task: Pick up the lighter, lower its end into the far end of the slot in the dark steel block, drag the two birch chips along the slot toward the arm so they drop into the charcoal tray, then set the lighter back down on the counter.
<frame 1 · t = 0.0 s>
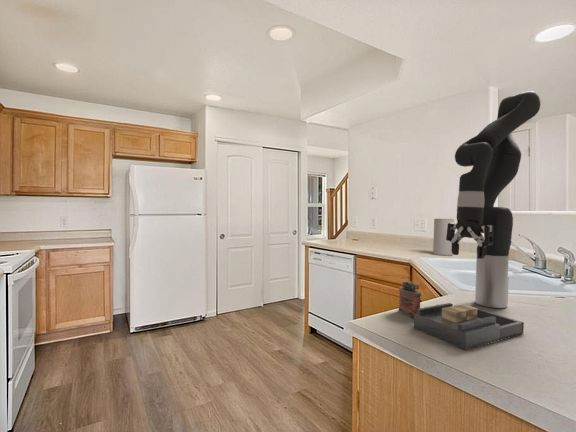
hand: (467, 256, 104), 17 cm above the table, tool pointing down, fingers open, 8 cm apart
slot block: (454, 333, 84), on the table
lighter: (409, 315, 99), on the table
cylinder vase: (442, 254, 226), on the table
chip a: (464, 316, 85), point 4 cm above the table, touching slot block
tray: (482, 326, 89), on the table
chip b: (453, 318, 83), point 4 cm above the table, touching slot block
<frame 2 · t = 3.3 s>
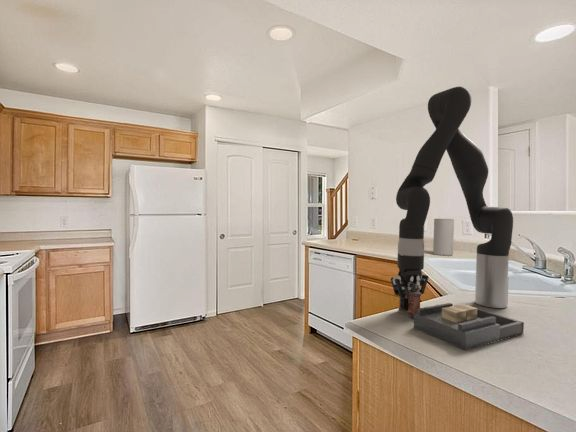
hand: (409, 308, 98), 2 cm above the table, tool pointing down, fingers closed on lighter, 3 cm apart
lighter: (409, 315, 99), on the table, touching gripper
everything else where it was.
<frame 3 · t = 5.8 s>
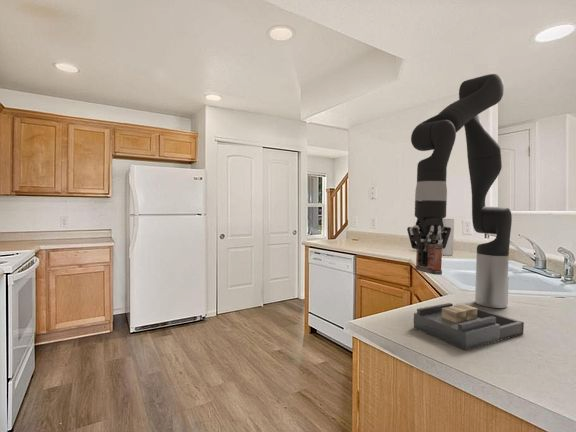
hand: (428, 265, 84), 18 cm above the table, tool pointing down, fingers closed on lighter, 3 cm apart
lighter: (428, 272, 84), point 16 cm above the table, touching gripper
everything else where it was.
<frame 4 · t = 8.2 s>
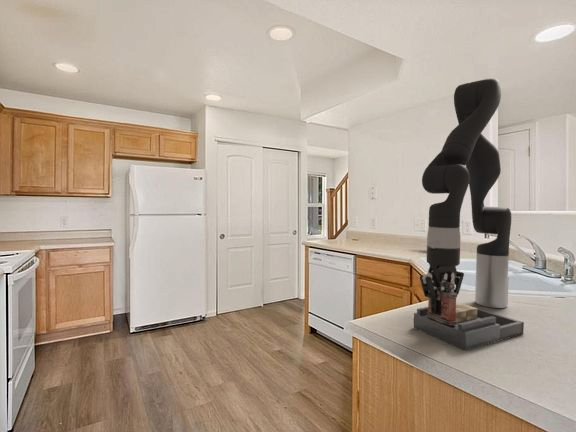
hand: (441, 312, 81), 6 cm above the table, tool pointing down, fingers closed on lighter, 3 cm apart
lighter: (441, 320, 82), point 4 cm above the table, touching gripper
chip b: (453, 318, 83), point 4 cm above the table, touching gripper, slot block
everything else where it was.
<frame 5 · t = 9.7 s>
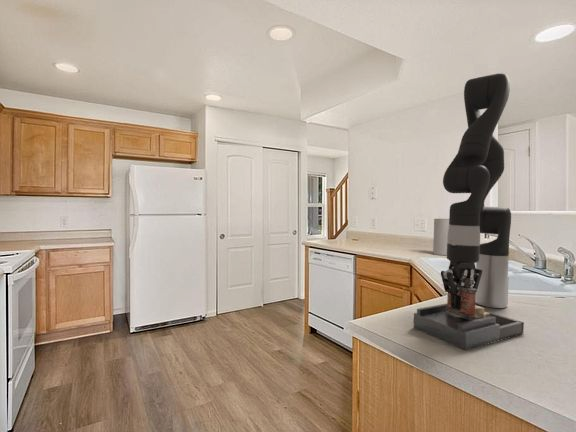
hand: (460, 307, 85), 7 cm above the table, tool pointing down, fingers closed on lighter, 3 cm apart
lighter: (460, 315, 85), point 5 cm above the table, touching gripper
chip a: (476, 319, 88), point 2 cm above the table, tilted 90°, touching tray
chip b: (471, 315, 86), point 4 cm above the table, touching gripper, slot block
everything else where it was.
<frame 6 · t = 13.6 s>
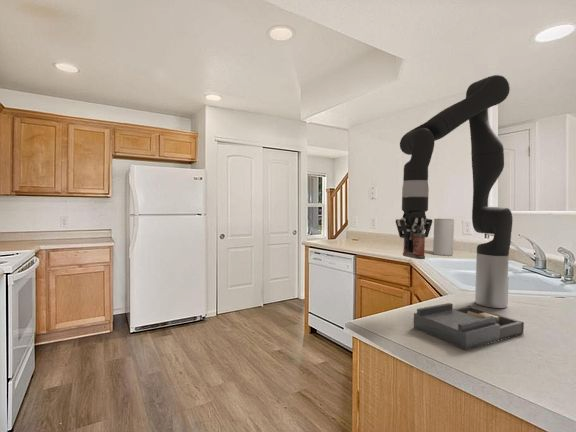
hand: (413, 251, 100), 19 cm above the table, tool pointing down, fingers closed on lighter, 3 cm apart
lighter: (413, 257, 100), point 17 cm above the table, touching gripper
chip a: (487, 315, 90), point 3 cm above the table, tilted 180°, touching tray
chip b: (476, 324, 87), point 1 cm above the table, tilted 28°, touching slot block, tray
everything else where it was.
when the fingers open (3 cm above the table, at t = 16.9 s): lighter drops 1 cm, on the table.
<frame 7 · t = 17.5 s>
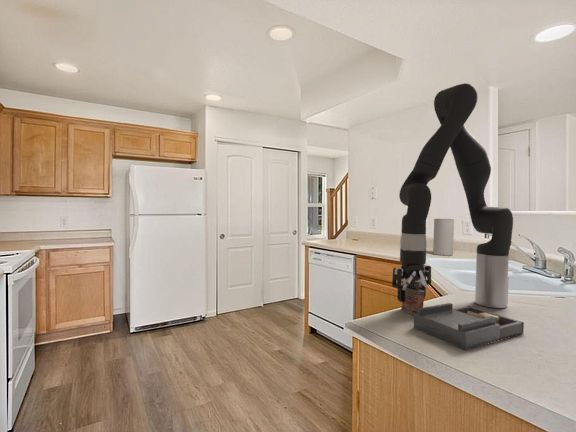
hand: (411, 300, 100), 4 cm above the table, tool pointing down, fingers open, 8 cm apart
lighter: (412, 312, 101), on the table
everything else where it was.
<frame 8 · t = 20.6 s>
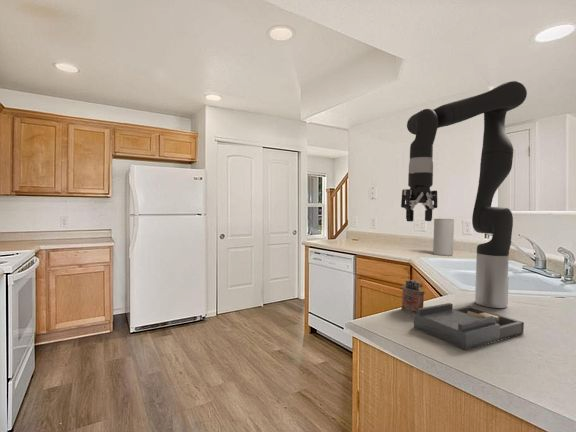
hand: (419, 221, 107), 28 cm above the table, tool pointing down, fingers open, 8 cm apart
nothing on the table moved.
at the end: chip a inside the target area (1.4 cm from its centre), point 3.0 cm above the table; chip b inside the target area (3.7 cm from its centre), point 1.4 cm above the table; lighter inside the target area (0.5 cm from its centre), on the table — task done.
